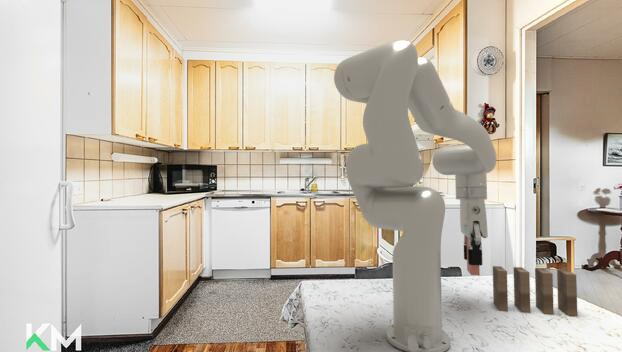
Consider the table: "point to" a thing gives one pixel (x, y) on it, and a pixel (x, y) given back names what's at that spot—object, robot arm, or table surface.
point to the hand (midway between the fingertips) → (472, 261)
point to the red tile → (472, 268)
